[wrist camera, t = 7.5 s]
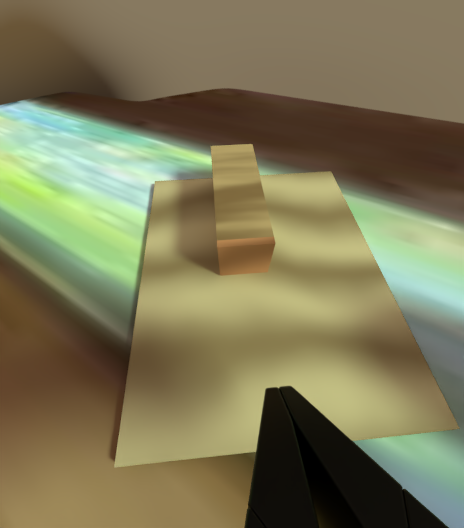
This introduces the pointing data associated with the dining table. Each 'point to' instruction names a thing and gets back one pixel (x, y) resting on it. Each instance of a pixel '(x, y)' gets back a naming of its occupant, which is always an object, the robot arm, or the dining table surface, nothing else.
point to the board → (266, 329)
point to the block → (240, 212)
